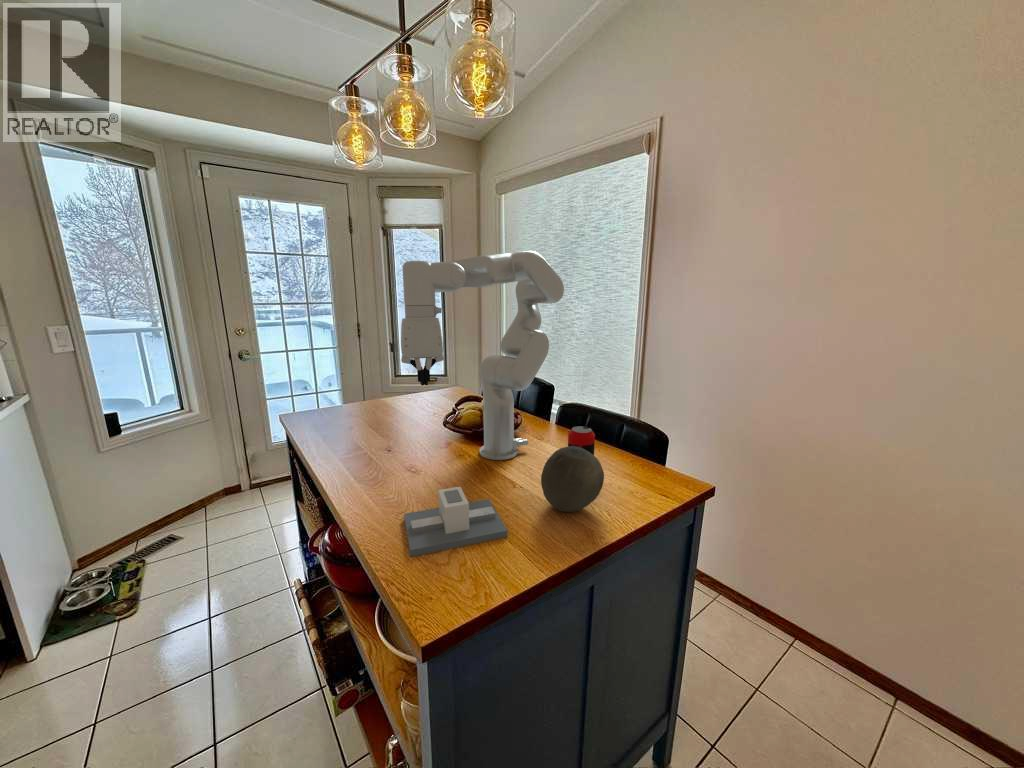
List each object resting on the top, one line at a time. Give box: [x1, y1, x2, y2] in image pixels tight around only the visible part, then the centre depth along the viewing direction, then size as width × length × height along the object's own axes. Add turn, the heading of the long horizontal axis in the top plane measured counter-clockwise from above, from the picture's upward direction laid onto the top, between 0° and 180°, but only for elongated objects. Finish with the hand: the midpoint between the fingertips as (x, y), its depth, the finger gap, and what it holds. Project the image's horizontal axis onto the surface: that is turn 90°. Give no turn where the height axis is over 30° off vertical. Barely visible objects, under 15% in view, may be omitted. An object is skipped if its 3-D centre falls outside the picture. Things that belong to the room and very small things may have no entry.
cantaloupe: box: [540, 445, 605, 513], centre depth 94 cm, size 14×14×15 cm
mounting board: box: [403, 498, 509, 558], centre depth 88 cm, size 20×14×2 cm
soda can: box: [567, 425, 596, 456], centre depth 116 cm, size 8×8×12 cm
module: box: [437, 486, 469, 534], centre depth 87 cm, size 5×8×6 cm, turn 20°
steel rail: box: [411, 506, 495, 533], centre depth 87 cm, size 18×3×1 cm, turn 109°
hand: (424, 384), depth 104 cm, fingers closed
